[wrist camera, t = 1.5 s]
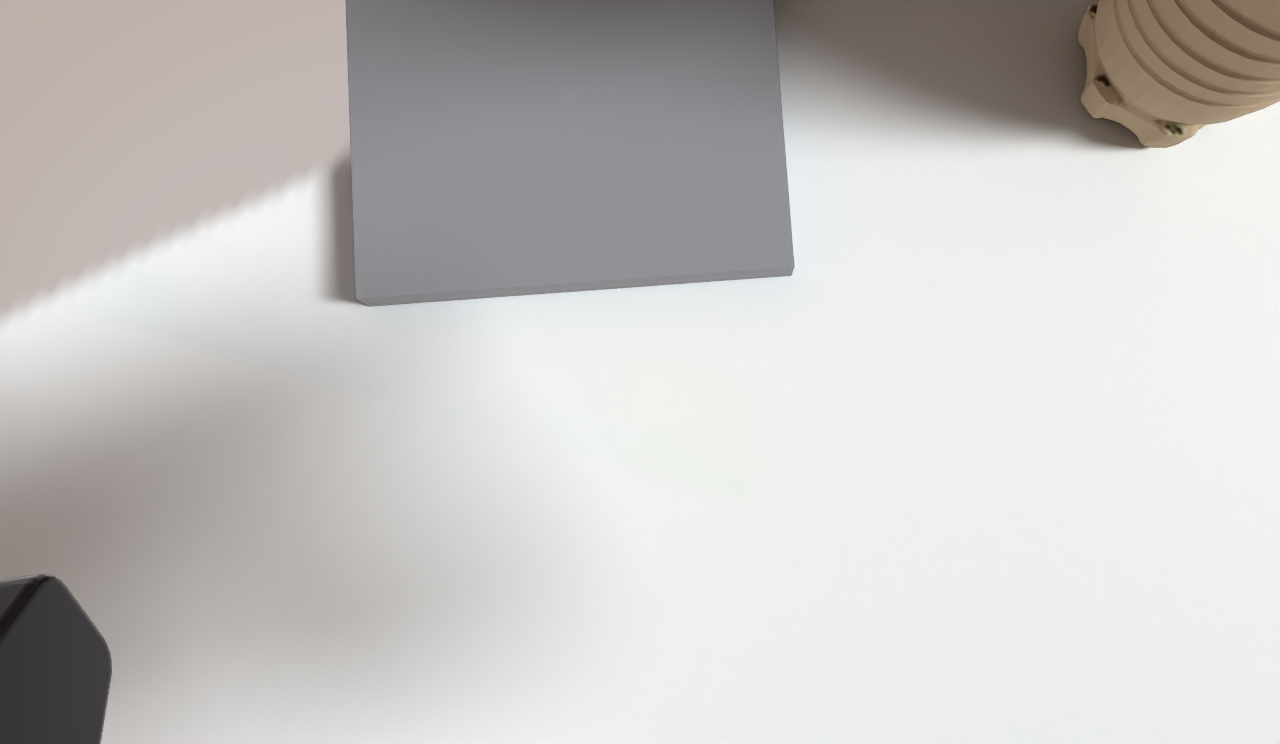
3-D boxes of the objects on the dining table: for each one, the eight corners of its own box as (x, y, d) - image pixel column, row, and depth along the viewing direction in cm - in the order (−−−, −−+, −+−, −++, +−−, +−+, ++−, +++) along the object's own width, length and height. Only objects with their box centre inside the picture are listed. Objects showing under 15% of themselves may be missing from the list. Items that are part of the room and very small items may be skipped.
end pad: (790, 275, 21) (794, 266, 20) (369, 306, 21) (355, 299, 20) (763, -70, 21) (766, -92, 21) (357, -34, 22) (343, -54, 21)
